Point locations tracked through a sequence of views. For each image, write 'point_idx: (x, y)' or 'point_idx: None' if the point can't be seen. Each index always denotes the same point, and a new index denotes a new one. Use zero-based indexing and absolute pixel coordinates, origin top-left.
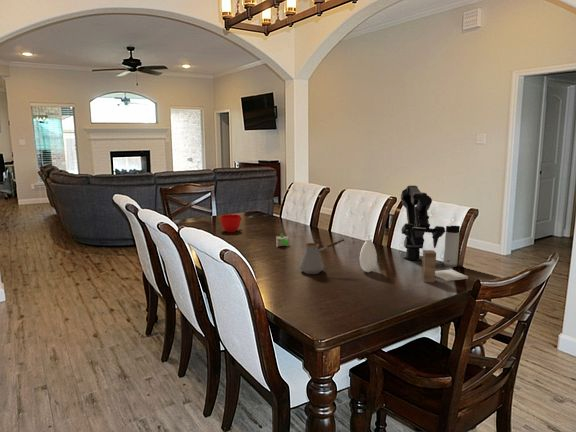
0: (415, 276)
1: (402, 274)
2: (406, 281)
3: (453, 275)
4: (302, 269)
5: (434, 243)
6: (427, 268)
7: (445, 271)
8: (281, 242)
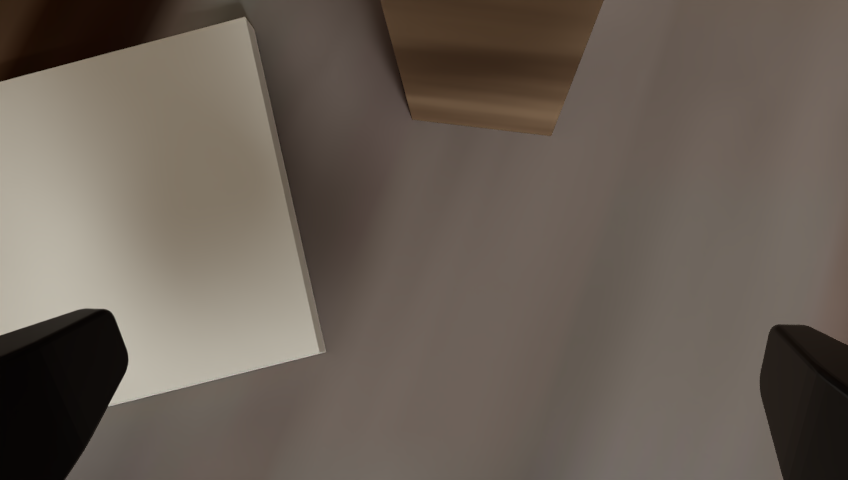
0: (601, 239)
1: None
2: (795, 32)
3: (87, 154)
4: None
5: (30, 410)
6: None
7: None
8: None
